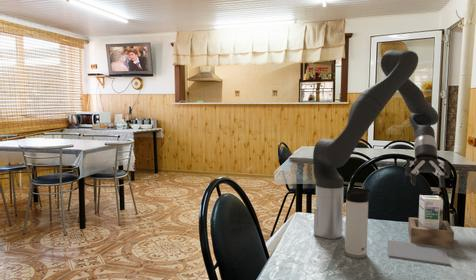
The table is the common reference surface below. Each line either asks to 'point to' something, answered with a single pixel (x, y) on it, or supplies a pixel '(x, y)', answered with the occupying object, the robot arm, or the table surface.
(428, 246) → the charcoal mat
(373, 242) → the table surface
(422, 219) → the syrup box
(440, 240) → the walnut holder
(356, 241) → the travel mug
